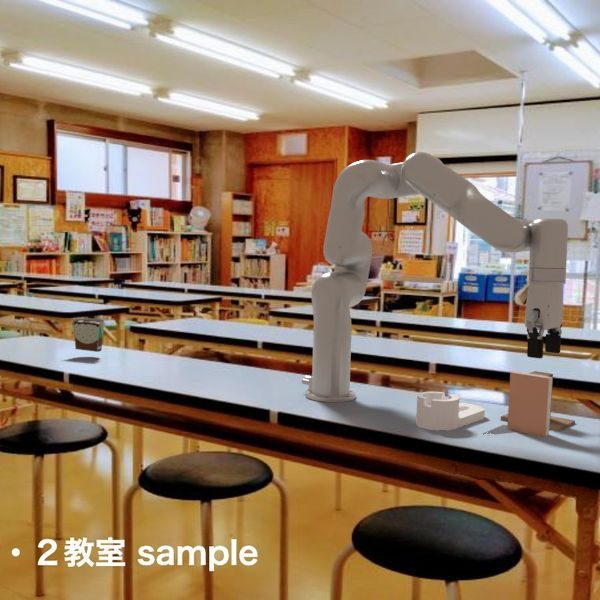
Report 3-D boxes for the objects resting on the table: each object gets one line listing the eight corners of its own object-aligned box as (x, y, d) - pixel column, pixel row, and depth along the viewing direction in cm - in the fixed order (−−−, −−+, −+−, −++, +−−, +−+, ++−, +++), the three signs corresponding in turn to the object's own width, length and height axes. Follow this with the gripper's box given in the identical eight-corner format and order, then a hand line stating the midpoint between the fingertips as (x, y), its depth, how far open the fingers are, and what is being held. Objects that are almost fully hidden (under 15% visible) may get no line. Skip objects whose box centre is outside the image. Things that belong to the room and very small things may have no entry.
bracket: (444, 435, 138) (445, 403, 137) (408, 426, 143) (409, 395, 143) (489, 418, 153) (491, 389, 152) (455, 410, 158) (456, 382, 158)
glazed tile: (507, 428, 142) (510, 372, 141) (511, 427, 143) (514, 371, 142) (544, 437, 136) (548, 378, 135) (548, 435, 138) (552, 377, 137)
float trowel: (559, 434, 141) (562, 381, 140) (500, 421, 149) (503, 371, 148) (574, 426, 148) (578, 375, 147) (517, 414, 156) (520, 366, 155)
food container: (113, 349, 226) (113, 320, 226) (100, 352, 221) (101, 321, 220) (85, 346, 232) (85, 317, 231) (72, 348, 226) (72, 319, 225)
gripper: (545, 274, 155) (542, 348, 156) (513, 276, 142) (510, 357, 143) (579, 276, 150) (575, 352, 151) (548, 278, 137) (545, 362, 138)
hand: (543, 354), depth 147 cm, fingers open, 9 cm apart
